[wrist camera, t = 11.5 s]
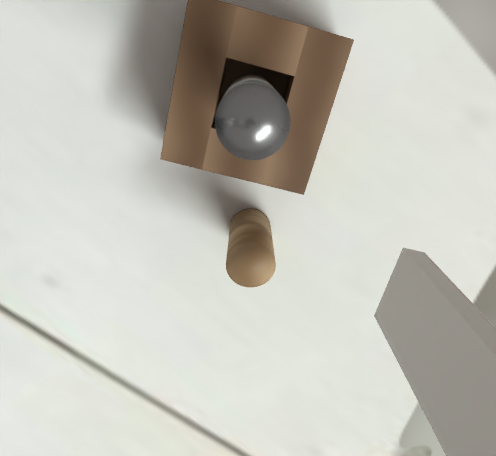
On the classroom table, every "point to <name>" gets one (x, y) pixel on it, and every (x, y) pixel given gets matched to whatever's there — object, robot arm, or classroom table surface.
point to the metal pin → (252, 118)
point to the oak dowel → (250, 249)
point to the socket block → (259, 62)
